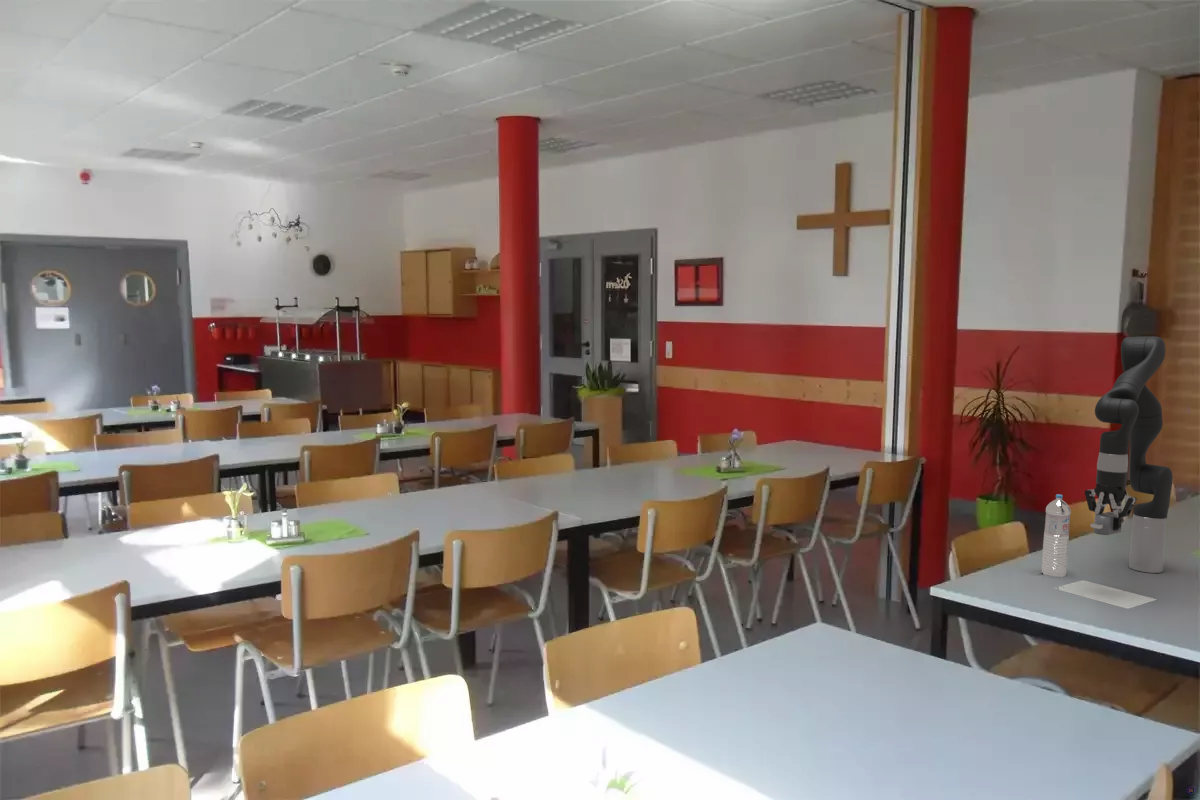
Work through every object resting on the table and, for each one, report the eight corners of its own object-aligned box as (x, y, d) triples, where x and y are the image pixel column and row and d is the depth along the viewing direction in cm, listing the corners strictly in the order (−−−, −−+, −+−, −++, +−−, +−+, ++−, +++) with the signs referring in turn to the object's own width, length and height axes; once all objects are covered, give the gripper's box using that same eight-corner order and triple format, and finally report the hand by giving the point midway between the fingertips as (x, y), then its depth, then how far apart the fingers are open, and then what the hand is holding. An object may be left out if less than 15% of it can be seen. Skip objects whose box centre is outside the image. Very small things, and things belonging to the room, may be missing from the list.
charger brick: (1109, 528, 265) (1110, 511, 265) (1123, 531, 262) (1125, 514, 261) (1087, 533, 258) (1088, 515, 258) (1101, 536, 255) (1102, 518, 255)
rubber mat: (1082, 582, 274) (1082, 580, 274) (1157, 601, 257) (1157, 599, 257) (1052, 590, 265) (1052, 588, 265) (1127, 610, 248) (1127, 608, 248)
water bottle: (1052, 579, 276) (1058, 497, 274) (1036, 572, 283) (1041, 493, 281) (1071, 578, 278) (1077, 496, 276) (1054, 571, 285) (1060, 492, 282)
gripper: (1145, 471, 255) (1140, 532, 257) (1094, 464, 267) (1089, 522, 269) (1131, 474, 251) (1126, 535, 253) (1080, 466, 263) (1075, 525, 264)
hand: (1107, 528), depth 261 cm, fingers closed on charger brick, 4 cm apart
